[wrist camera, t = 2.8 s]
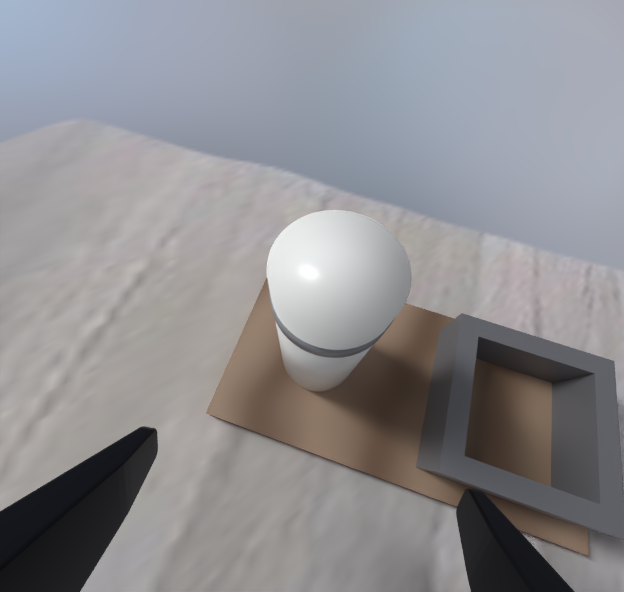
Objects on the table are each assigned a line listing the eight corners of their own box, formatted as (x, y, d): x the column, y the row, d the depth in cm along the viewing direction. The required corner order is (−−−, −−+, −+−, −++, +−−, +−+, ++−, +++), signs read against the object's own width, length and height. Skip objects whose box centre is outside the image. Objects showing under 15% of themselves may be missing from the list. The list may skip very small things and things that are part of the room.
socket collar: (569, 372, 23) (614, 361, 19) (570, 523, 19) (626, 540, 16) (439, 330, 24) (461, 313, 20) (415, 467, 20) (438, 472, 17)
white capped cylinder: (369, 361, 22) (443, 281, 11) (312, 408, 21) (328, 372, 9) (323, 307, 24) (347, 188, 12) (267, 348, 22) (236, 254, 11)
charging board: (574, 361, 24) (583, 359, 23) (577, 551, 19) (588, 556, 18) (274, 266, 26) (274, 261, 25) (209, 414, 21) (205, 413, 20)
